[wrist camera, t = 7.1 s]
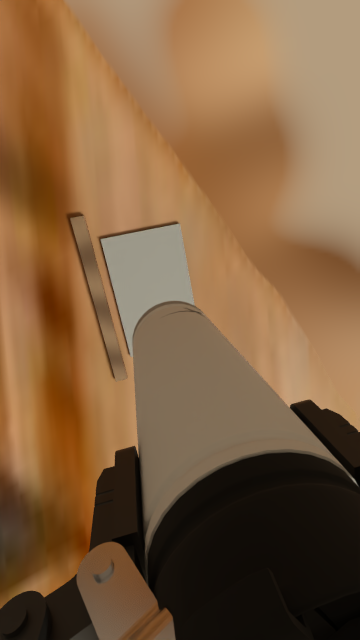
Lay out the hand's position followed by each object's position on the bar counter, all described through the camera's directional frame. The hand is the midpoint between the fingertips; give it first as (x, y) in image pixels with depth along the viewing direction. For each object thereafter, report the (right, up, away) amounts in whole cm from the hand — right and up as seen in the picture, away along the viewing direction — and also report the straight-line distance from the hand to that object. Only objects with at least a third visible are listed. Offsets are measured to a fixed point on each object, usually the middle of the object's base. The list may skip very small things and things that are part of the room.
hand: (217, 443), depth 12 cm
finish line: (-12, +7, +29) cm, 32 cm away
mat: (-5, +8, +29) cm, 31 cm away
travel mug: (-2, +4, +12) cm, 13 cm away
